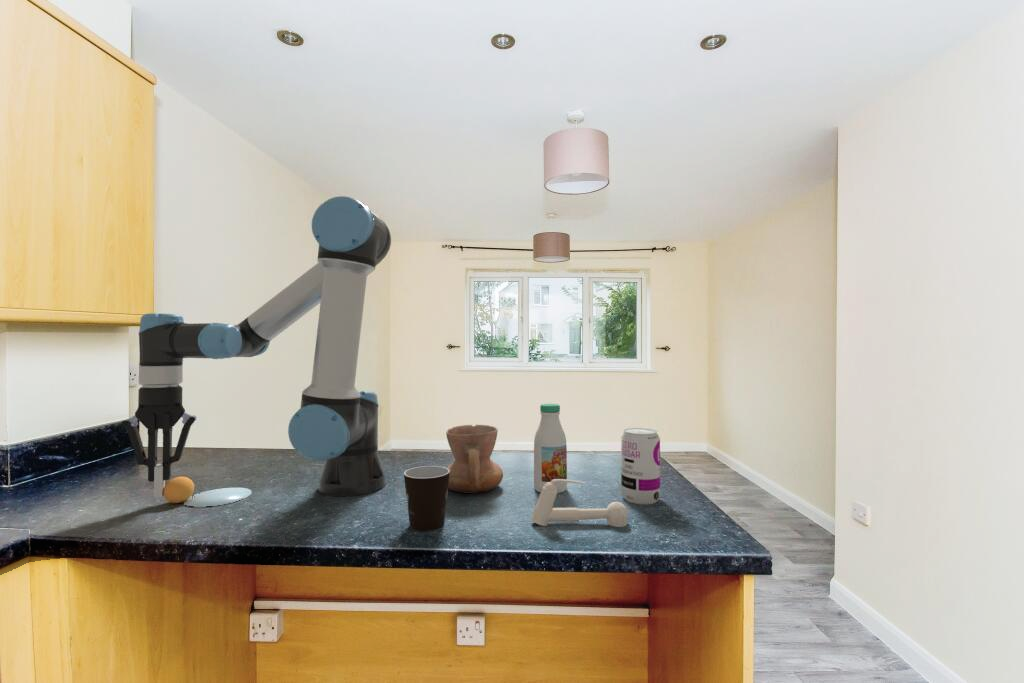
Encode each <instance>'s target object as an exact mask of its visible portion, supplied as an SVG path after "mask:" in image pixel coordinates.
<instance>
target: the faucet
mask: <svg viewBox="0 0 1024 683" xmlns="http://www.w3.org/2000/svg"><path fill="white" fill-rule="evenodd" d="M560 482H567V483H576V484H588V483H587V482H585V481H579V480H574V479H567V480H565V479H554V480H552V481H551V482H548V483H546V484H545V485H544V486H543V488H542V490H541V492H539V493H540V494H539V496H538V500H537V501H536V504H535V506H534V509H533V511H532V514H531V517H530V520H531V521H532V523H535V524H537V525H539V526H542V527H546V526H548V524H549V522H579V521H583V520H598V519H599V520H600V519H606V520H607V525H609V526H610V527H617V528H623V527H626V526H627V525H628V514H629V513H628V509H627V507H626V506H625V505H624V504H623V503H622V502H620V501H613V502H610V503H609V504H608V505H607V507H606V508H579V507H553V506H554V503H555V500H556V497H557V494H558V493H557V487H556V485H555V484H556V483H560Z"/></svg>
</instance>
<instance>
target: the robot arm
mask: <svg viewBox="0 0 1024 683" xmlns="http://www.w3.org/2000/svg"><path fill="white" fill-rule="evenodd" d="M311 232H312V235H313V237H314V239H315V240H316V242H317V243H318V250H317V251H318V252H317V263H316V264H314V266H312V267H310V269H308V270H307V271H306V272H303V274H302V275H301V276H299V277H298V278H297V279H295V280H293V281H292V282H291V283H290V284H288V285H287V286H286V287H285V288H284V289H282V290H281V291H280V292H278V293H277V294H276V295H274V296H273V297H272V298H270V299H269V300H268V301H266V302H265V303H264V304H263V305H261V306H260V307H259V308H257V309H256V310H255V311H254V312H252V313H251V314H250V315H249V316H246V318H244V319H243V320H242V321H241V322H239V323H238V324H231V323H223V322H211V323H209V322H207V323H205V322H204V323H199V322H198V323H186V322H185V321H184V317H183V315H181V314H176V313H155V312H153V313H150V312H149V313H144V314H143V315H141V317H140V321H139V322H140V323H139V331H138V341H139V346H138V347H139V363H138V385H140V386H141V387H140V388H138V396H137V397H138V400H137V403H138V404H137V409H136V410H135V412H134V415H133V416H131V417H130V418H127V419H124V420H123V421H122V422H121V426H122V427H123V428H124V429H125V431H126V432H127V435H128V437H129V442H130V443H131V444H130V445H131V447H132V450H133V454H134V458H135V460H136V464H137V465H139V466H141V465H143V466H146V467H147V468H148V469H147V481H148V482H149V483H151V482H152V483H153V499H158V498H163V497H164V495H163V489H164V487H165V485H166V481H170V480H171V477H172V464H174V463H175V462H179V461H180V459H181V458H182V457H183V453H184V450H185V447H186V443H187V440H188V436H189V434H190V430H191V427H192V426H193V424H194V423H195V421H196V420H197V416H196V415H192V414H189V413H188V412H186V410H185V408H184V406H183V387H182V386H181V385H180V384H182V383H183V381H184V380H183V379H184V378H183V375H184V374H183V364H184V363H183V362H184V359H212V360H220V359H221V360H223V359H231V358H252V357H257V356H260V355H262V354H264V353H265V352H266V351H267V350H268V349H269V346H270V342H271V341H272V340H273V339H275V338H276V337H278V336H279V335H280V334H281V333H283V332H284V331H285V330H286V329H288V328H289V327H290V326H292V325H293V324H294V323H295V322H297V321H298V320H300V318H303V317H304V316H305V315H306V314H308V313H309V312H310V311H311V310H314V308H315V307H317V306H319V314H318V321H317V331H316V340H315V348H314V355H313V356H314V358H313V366H312V373H311V374H312V375H311V382H310V384H309V385H308V386H307V387H306V388H304V389H303V390H302V391H301V400H300V408H299V409H298V410H297V411H296V412H295V413H294V414H293V416H292V417H291V418H290V420H289V423H288V429H287V432H288V433H287V434H288V439H289V442H290V444H291V446H292V448H294V450H295V451H296V452H297V453H298V454H299V455H300V456H301V457H303V458H305V459H308V460H310V461H315V462H323V461H324V465H323V467H322V471H321V473H320V476H319V480H318V492H319V493H321V494H322V495H326V496H330V497H331V496H332V497H349V496H350V497H351V496H359V495H365V494H369V493H372V492H375V491H379V490H380V489H382V488H383V487H385V485H386V473H385V471H384V467H383V465H382V461H381V458H380V456H379V452H378V450H379V448H378V447H379V446H378V443H379V442H378V441H379V429H378V428H379V426H378V425H379V417H378V416H379V413H378V412H379V411H378V410H379V403H378V395H377V393H376V392H374V391H368V390H367V391H364V390H357V388H356V387H355V383H356V375H357V368H358V367H357V366H358V358H359V349H360V341H361V332H362V331H361V330H362V323H363V314H364V305H365V295H366V287H367V279H368V278H367V277H368V276H369V275H370V274H371V273H373V272H374V271H375V270H376V267H377V266H378V265H379V264H380V263H381V262H382V261H383V260H384V259H385V258H386V256H387V255H388V253H389V251H390V248H391V245H392V236H391V232H390V229H389V227H388V225H387V223H385V221H384V220H383V219H382V218H380V216H377V215H376V214H375V213H374V212H373V211H371V209H370V208H369V206H367V205H366V204H365V203H363V202H362V201H359V200H357V199H355V198H354V197H351V196H350V197H349V196H345V195H343V196H342V195H340V196H334V197H331V198H329V199H327V200H325V201H324V202H323V203H320V204H319V206H318V207H317V208H316V210H315V211H314V213H313V216H312V218H311ZM181 418H182V421H181V422H182V424H183V426H182V429H181V431H180V434H179V438H178V440H177V444H176V448H175V451H174V454H172V453H173V452H172V451H173V449H172V448H173V429H174V427H175V425H176V424H177V423H178V422H179V421H180V420H181ZM138 421H139V422H140V423H141V424H142V425H143V426H144V427H145V429H147V454H146V450H145V448H144V445H143V441H142V438H141V434H140V430H139V429H138V427H137V426H138V425H139V422H138ZM160 429H161V430H162V463H158V462H159V460H158V441H159V439H158V438H159V437H158V435H159V434H158V433H159V430H160ZM157 463H158V464H157Z"/></svg>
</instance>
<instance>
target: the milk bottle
mask: <svg viewBox="0 0 1024 683" xmlns="http://www.w3.org/2000/svg"><path fill="white" fill-rule="evenodd" d="M539 407H540V408H539V409H540V415H541V416H540V422H539V425H538V427H537V429H536V431H535V434H534V440H533V487H534V490H535V491H536V492H538V493H541V490H542V488H543V486H544V485H545V484H546V483H548V482H551V481H552V480H554V479H565V480H568V476H567V475H568V460H567V458H568V455H567V454H568V451H567V437H566V433H565V431H564V429H563V427H562V424H561V420H560V413H561V412H560V411H561V406H560V404H558V403H542V404H540V406H539ZM555 485H556V487H557V494H561V493H562V494H563V493H564V492H566V490H567V488H568V482H560V483H556V484H555Z"/></svg>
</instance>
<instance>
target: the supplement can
mask: <svg viewBox="0 0 1024 683" xmlns="http://www.w3.org/2000/svg"><path fill="white" fill-rule="evenodd" d="M659 436H660V435H659V434H658V431H657V430H656V429H651V428H643V427H635V428H634V427H630V428H625V429H624V430H623V433H622V435H621V436H620V450H621V451H620V456H621V457H620V459H621V460H620V462H621V464H620V468H621V470H620V472H621V473H620V474H621V476H620V477H621V478H620V479H621V480H620V481H621V482H620V483H621V484H620V486H621V488H620V489H621V490H620V491H621V497H622V498H624V500H625V501H627V502H628V503H632V504H636V505H643V506H644V505H653V504H656V503H657V502H658V501H659V500H660V499H661V438H660V437H659Z"/></svg>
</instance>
